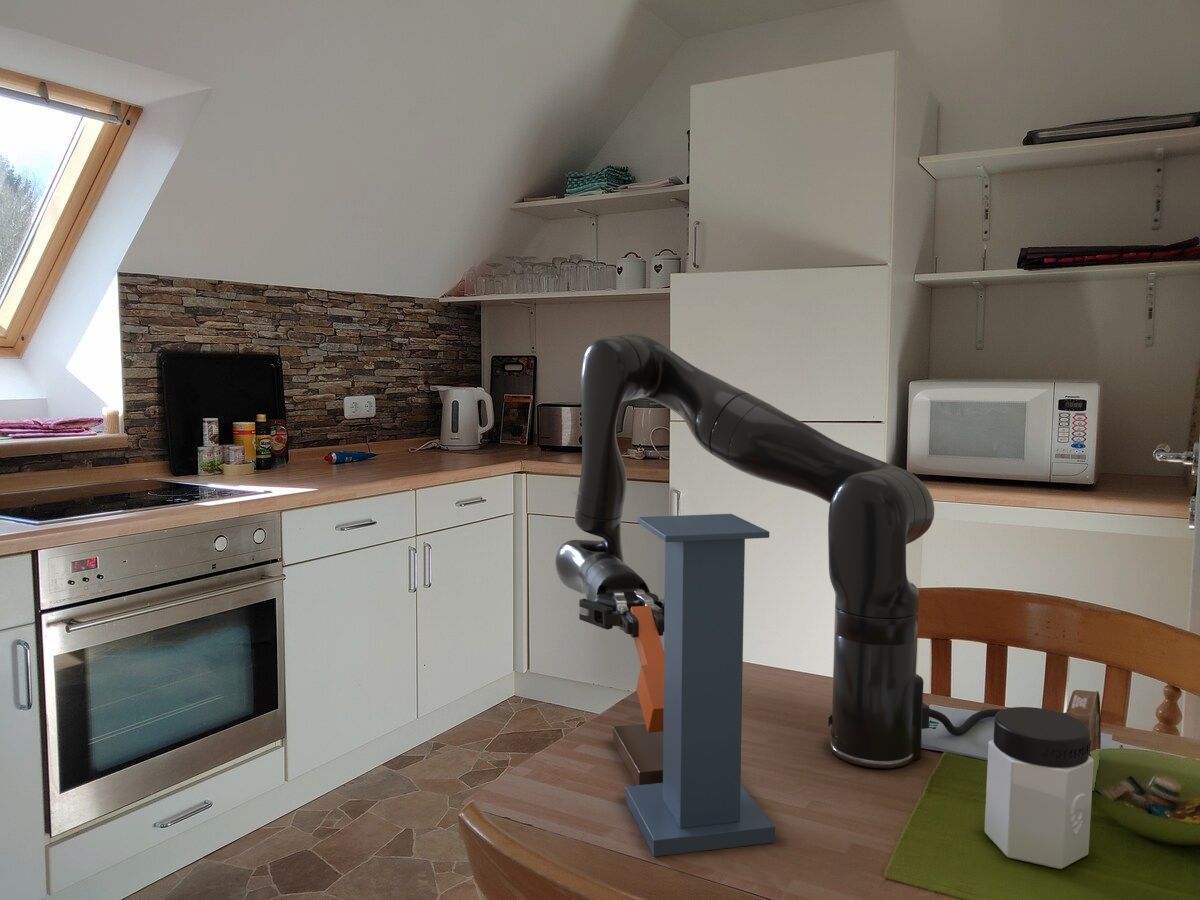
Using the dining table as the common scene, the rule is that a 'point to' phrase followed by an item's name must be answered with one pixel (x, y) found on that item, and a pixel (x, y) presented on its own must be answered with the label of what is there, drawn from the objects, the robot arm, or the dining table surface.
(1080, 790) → the jar
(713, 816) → the stand
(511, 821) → the dining table surface
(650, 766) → the pad
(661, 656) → the orange toy mallet
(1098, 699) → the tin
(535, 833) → the dining table surface
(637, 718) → the dining table surface
